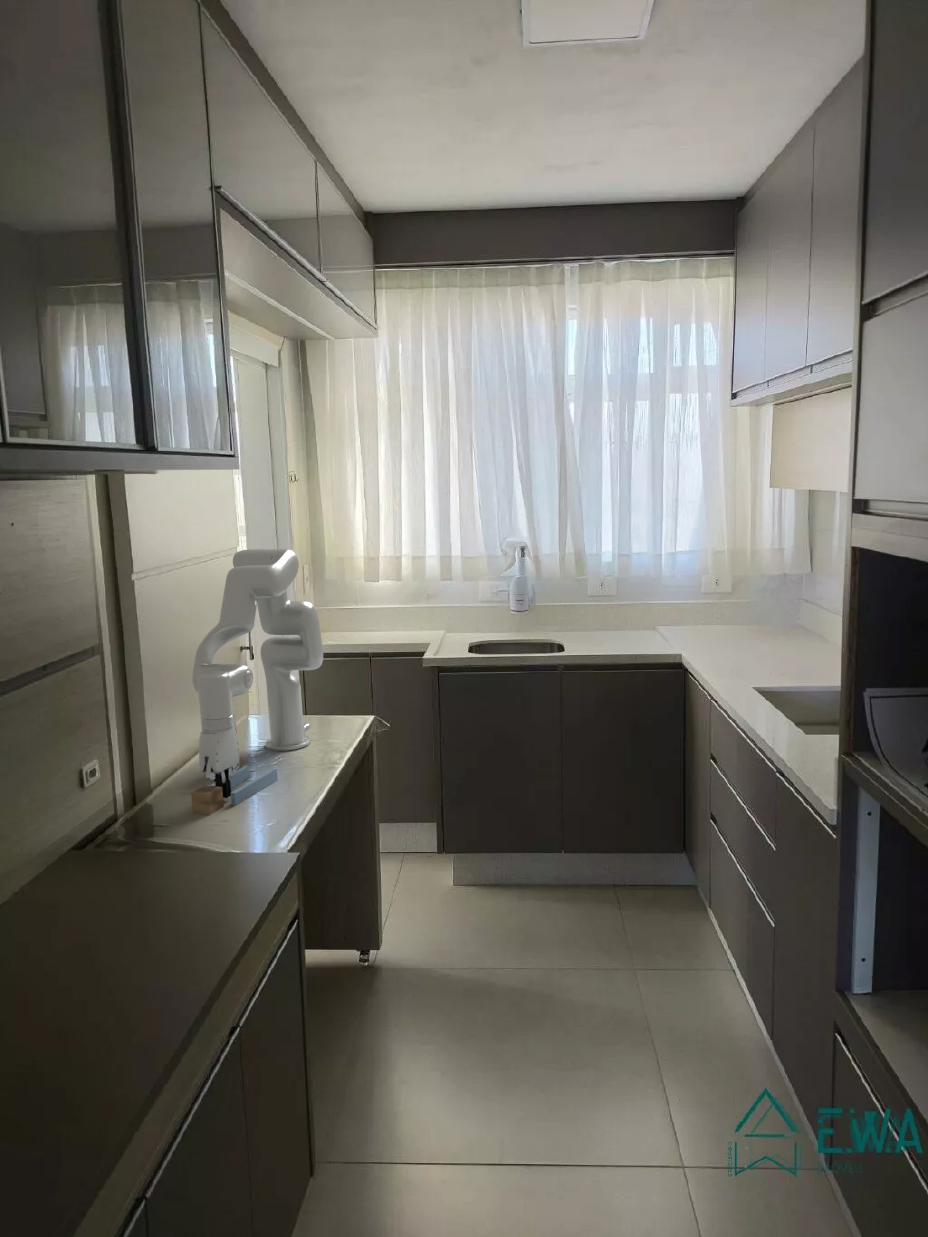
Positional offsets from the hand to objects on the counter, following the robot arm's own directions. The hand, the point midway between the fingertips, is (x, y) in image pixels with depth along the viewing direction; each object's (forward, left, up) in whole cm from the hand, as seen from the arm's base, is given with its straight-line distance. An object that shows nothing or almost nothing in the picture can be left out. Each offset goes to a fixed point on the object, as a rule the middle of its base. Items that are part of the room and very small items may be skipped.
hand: (224, 796), depth 216 cm
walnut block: (+6, 0, -1) cm, 6 cm away
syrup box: (-19, -13, -1) cm, 23 cm away
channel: (-7, 0, -1) cm, 7 cm away
